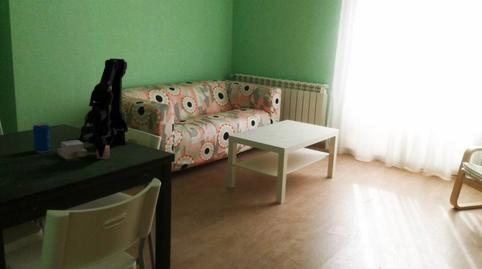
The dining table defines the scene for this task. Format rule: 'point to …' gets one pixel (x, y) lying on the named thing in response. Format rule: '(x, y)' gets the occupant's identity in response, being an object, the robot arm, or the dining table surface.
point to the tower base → (71, 154)
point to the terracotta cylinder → (105, 153)
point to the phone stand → (82, 134)
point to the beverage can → (41, 137)
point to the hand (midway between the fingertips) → (103, 155)
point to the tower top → (72, 146)
